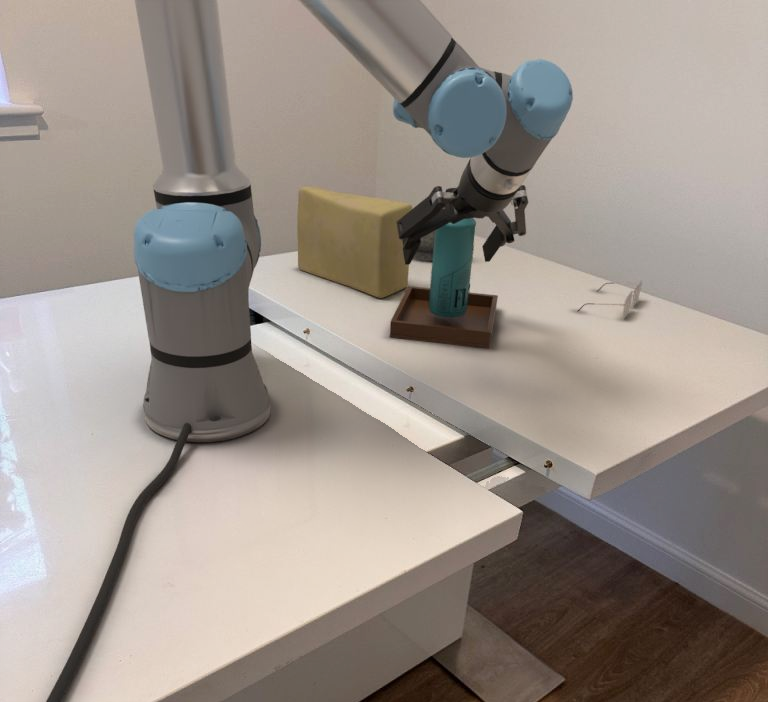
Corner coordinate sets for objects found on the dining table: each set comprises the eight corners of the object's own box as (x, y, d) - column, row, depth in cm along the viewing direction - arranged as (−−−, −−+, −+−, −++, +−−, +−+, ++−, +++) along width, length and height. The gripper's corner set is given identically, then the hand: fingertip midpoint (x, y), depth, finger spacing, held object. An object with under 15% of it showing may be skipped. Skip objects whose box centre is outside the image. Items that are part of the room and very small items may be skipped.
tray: (489, 348, 110) (491, 332, 109) (389, 337, 112) (390, 321, 111) (495, 310, 125) (498, 295, 123) (407, 300, 127) (408, 285, 125)
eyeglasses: (622, 321, 122) (625, 298, 120) (575, 315, 126) (578, 292, 124) (640, 299, 133) (643, 277, 130) (596, 294, 136) (599, 272, 134)
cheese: (283, 274, 135) (280, 189, 126) (315, 262, 142) (314, 181, 133) (380, 301, 126) (384, 210, 117) (409, 287, 132) (415, 200, 124)
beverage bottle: (452, 330, 114) (466, 196, 103) (418, 319, 117) (428, 188, 106) (474, 319, 119) (489, 189, 107) (440, 309, 122) (452, 182, 110)
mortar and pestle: (393, 257, 147) (396, 195, 140) (414, 247, 154) (418, 187, 147) (443, 267, 143) (448, 203, 136) (462, 256, 150) (468, 195, 143)
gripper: (409, 198, 90) (374, 280, 111) (586, 196, 96) (522, 274, 117) (400, 144, 91) (367, 235, 112) (575, 146, 97) (514, 231, 118)
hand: (446, 255), depth 114 cm, fingers open, 13 cm apart
